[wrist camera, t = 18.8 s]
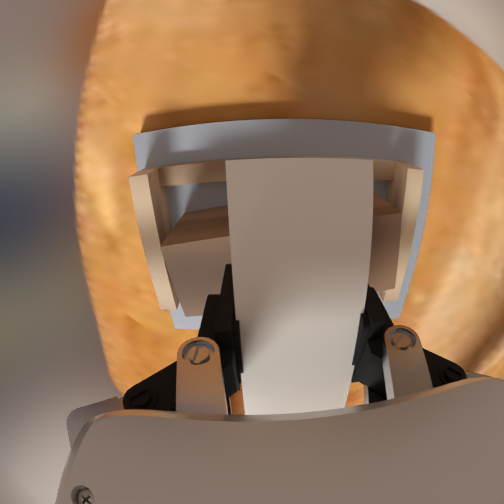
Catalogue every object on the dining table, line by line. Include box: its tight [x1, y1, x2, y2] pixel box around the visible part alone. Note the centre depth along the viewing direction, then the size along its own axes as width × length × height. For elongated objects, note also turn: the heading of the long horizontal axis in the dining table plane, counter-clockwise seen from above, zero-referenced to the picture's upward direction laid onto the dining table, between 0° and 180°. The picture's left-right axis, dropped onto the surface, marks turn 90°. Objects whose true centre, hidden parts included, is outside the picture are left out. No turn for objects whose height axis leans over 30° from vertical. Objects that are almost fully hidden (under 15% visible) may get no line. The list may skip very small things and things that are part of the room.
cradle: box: [129, 156, 424, 310], centre depth 17 cm, size 9×17×2 cm, turn 93°
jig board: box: [133, 119, 436, 329], centre depth 19 cm, size 16×20×1 cm
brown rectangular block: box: [160, 192, 402, 317], centre depth 16 cm, size 4×12×5 cm, turn 100°
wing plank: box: [225, 158, 373, 415], centre depth 11 cm, size 12×4×5 cm, turn 3°
